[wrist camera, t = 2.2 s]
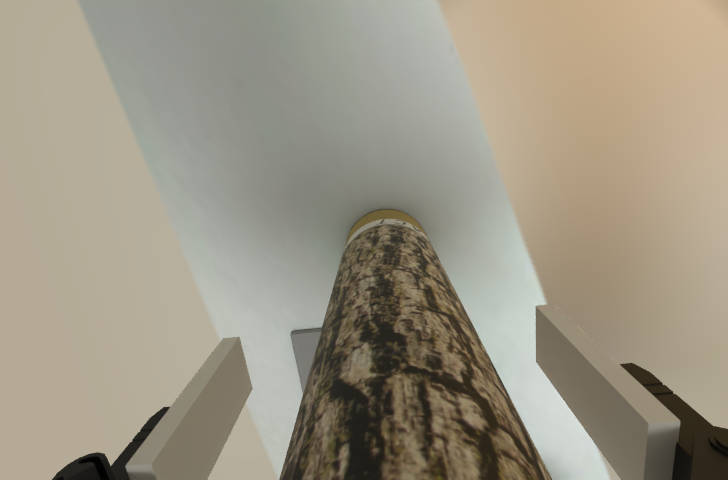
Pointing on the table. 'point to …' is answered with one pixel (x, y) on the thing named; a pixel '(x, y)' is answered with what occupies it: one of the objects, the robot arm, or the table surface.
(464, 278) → the table surface
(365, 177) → the table surface
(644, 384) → the robot arm
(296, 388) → the table surface
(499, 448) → the brown bark cylinder
